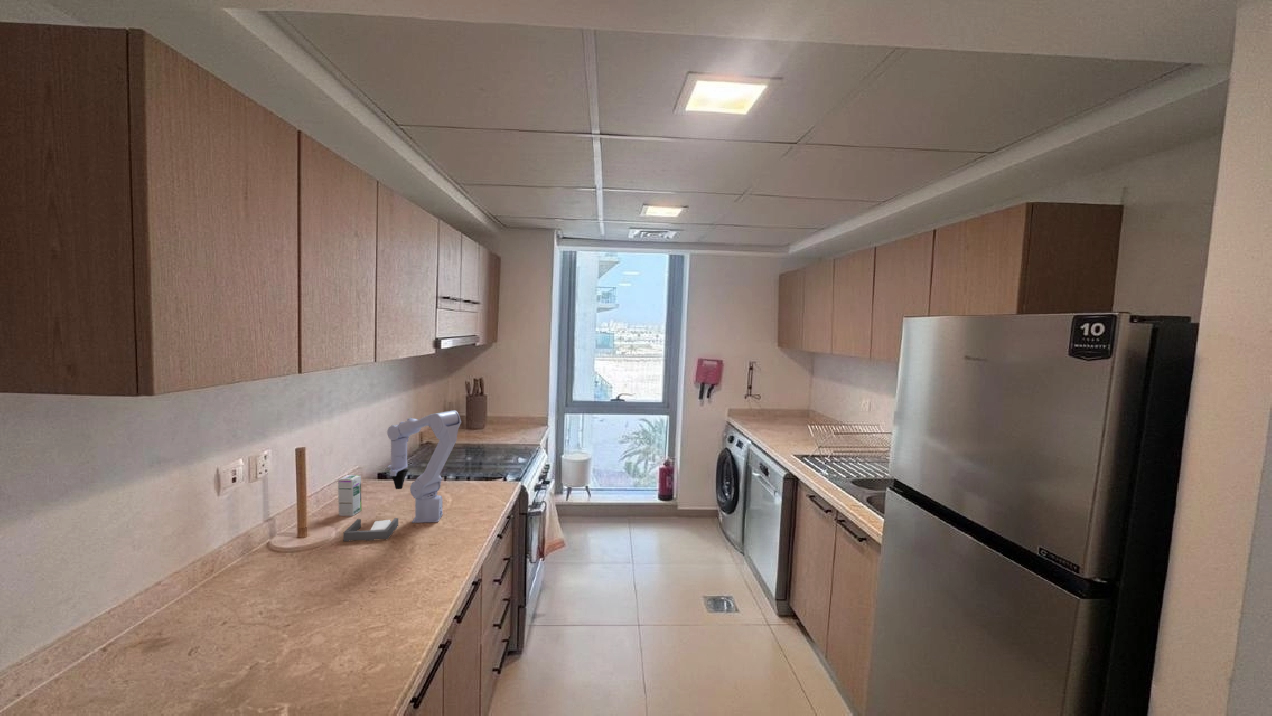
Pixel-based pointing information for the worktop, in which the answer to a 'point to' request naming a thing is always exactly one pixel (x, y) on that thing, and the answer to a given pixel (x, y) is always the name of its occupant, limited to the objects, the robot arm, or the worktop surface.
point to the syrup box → (349, 495)
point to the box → (368, 532)
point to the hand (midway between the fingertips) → (399, 488)
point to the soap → (381, 525)
